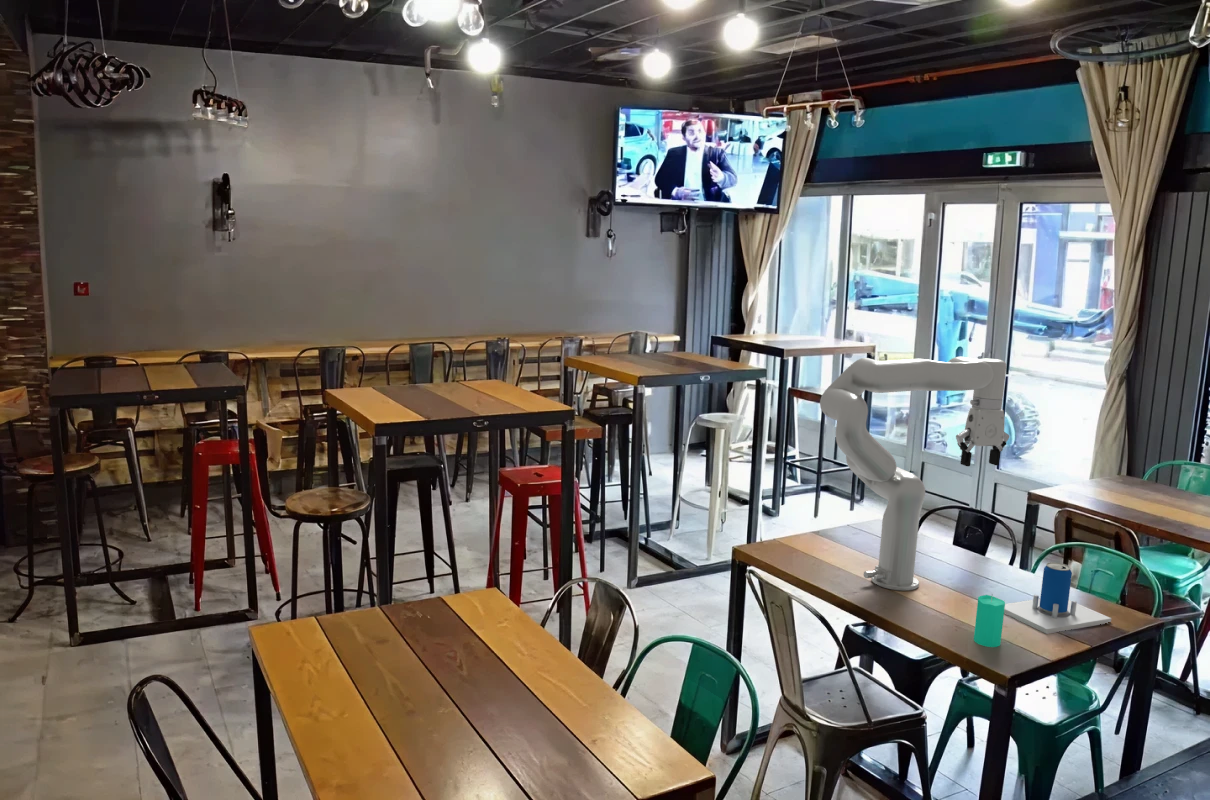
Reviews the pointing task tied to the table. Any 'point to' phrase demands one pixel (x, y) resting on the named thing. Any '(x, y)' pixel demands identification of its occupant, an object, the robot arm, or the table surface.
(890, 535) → the robot arm
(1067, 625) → the pin tray
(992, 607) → the candle
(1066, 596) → the beverage can
